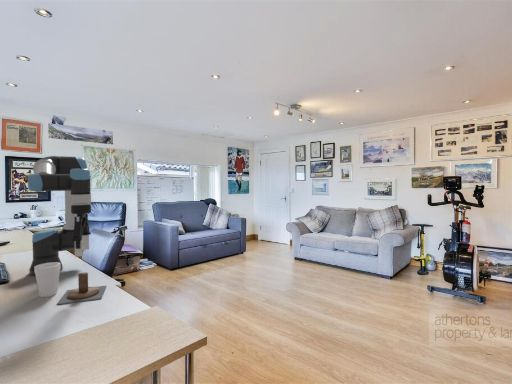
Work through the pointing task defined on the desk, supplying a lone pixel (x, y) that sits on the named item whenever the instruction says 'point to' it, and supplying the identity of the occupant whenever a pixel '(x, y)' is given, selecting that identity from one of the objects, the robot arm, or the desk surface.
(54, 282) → the foam cup
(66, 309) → the desk surface
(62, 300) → the mat
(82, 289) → the lid
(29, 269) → the robot arm
